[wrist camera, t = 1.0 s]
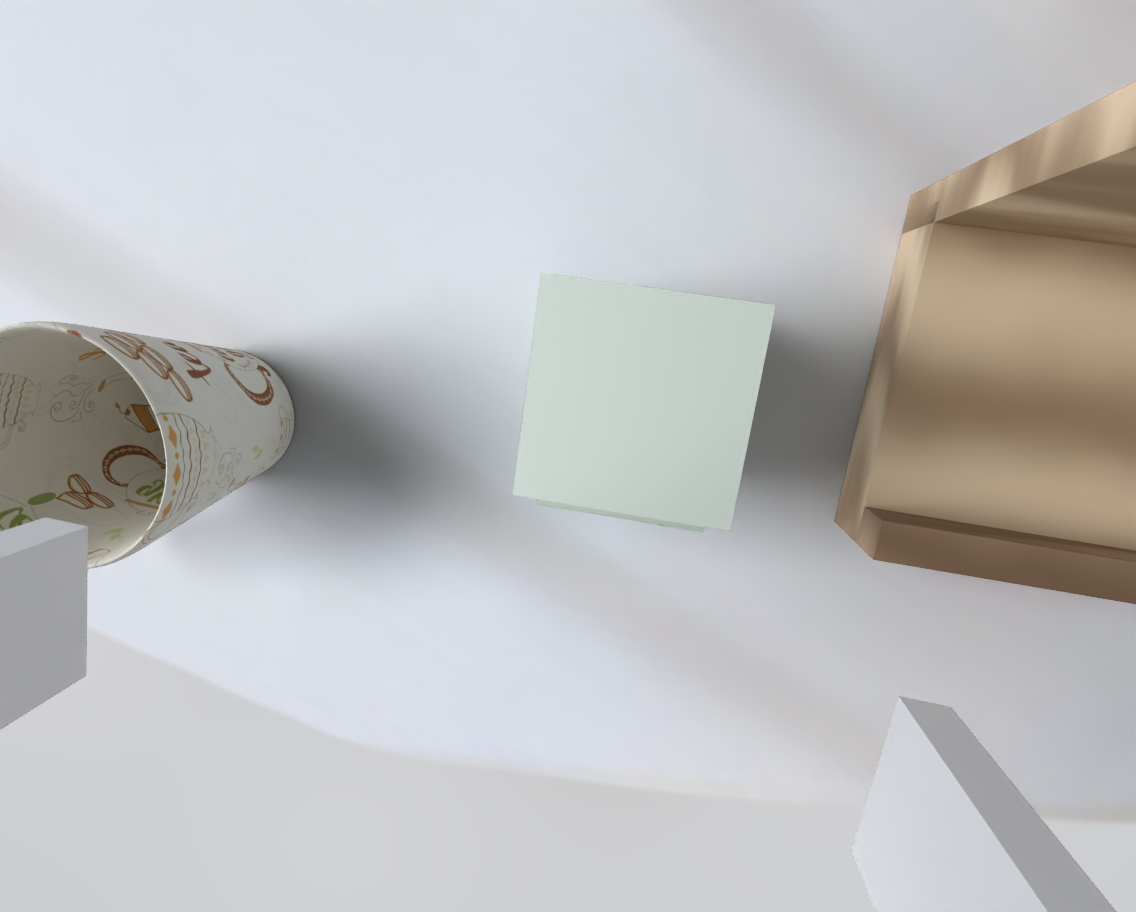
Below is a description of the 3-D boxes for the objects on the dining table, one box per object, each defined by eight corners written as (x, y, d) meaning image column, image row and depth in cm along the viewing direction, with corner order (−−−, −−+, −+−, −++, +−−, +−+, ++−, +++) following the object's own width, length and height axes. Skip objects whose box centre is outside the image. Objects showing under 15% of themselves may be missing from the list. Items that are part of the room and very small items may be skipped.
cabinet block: (572, 290, 28) (541, 272, 20) (733, 313, 28) (776, 305, 19) (547, 472, 30) (507, 530, 21) (699, 497, 30) (723, 567, 21)
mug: (354, 418, 31) (219, 458, 21) (193, 584, 33) (7, 689, 23) (227, 286, 30) (27, 265, 20) (74, 466, 33) (-168, 523, 23)
